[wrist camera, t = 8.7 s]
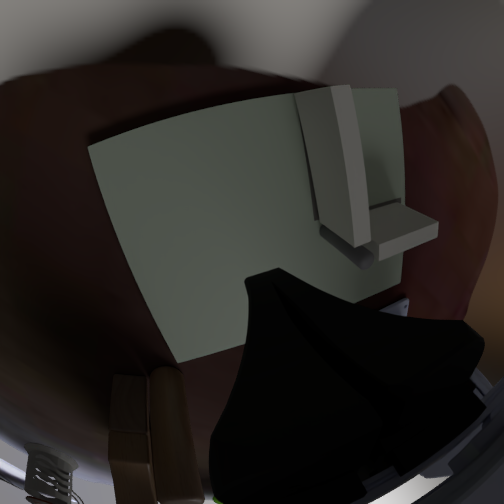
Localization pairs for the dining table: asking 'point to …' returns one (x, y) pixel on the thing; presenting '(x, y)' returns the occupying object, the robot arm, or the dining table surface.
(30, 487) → the grey box grater
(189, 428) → the wooden toy
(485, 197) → the dining table surface
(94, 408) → the dining table surface
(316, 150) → the fence panel
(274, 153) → the board
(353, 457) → the robot arm
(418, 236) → the base
